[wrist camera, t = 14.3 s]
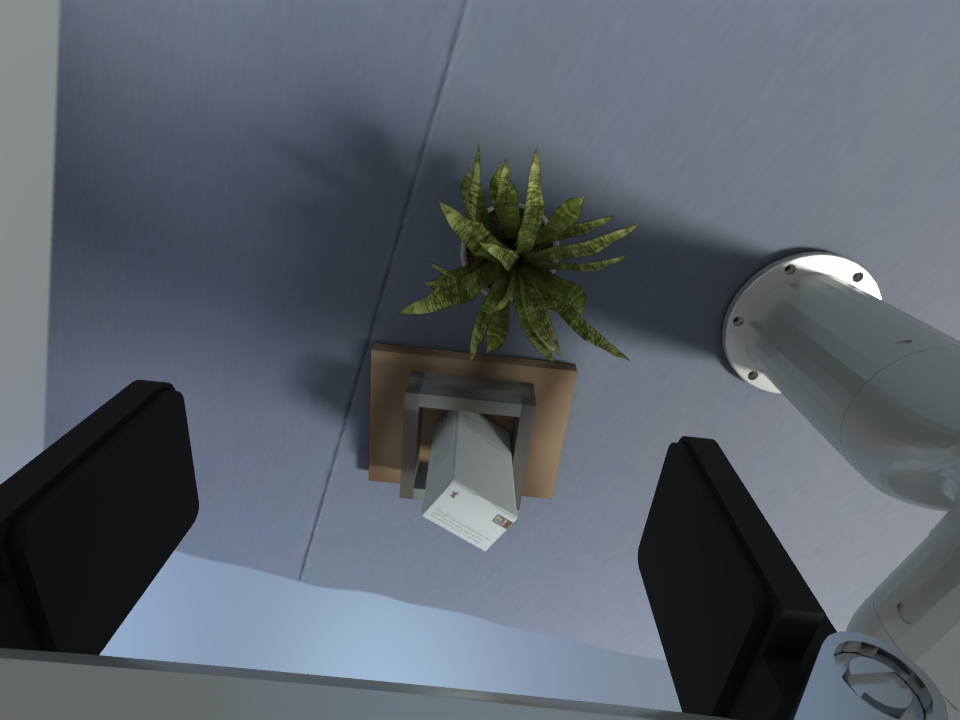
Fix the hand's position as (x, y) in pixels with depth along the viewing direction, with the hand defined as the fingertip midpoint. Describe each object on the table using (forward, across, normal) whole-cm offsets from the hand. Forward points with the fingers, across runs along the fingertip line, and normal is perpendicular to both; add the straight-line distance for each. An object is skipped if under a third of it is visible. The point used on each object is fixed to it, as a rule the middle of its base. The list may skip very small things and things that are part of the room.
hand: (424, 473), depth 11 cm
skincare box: (+35, -2, +21) cm, 41 cm away
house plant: (+36, -4, +3) cm, 37 cm away
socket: (+36, -1, +21) cm, 42 cm away
